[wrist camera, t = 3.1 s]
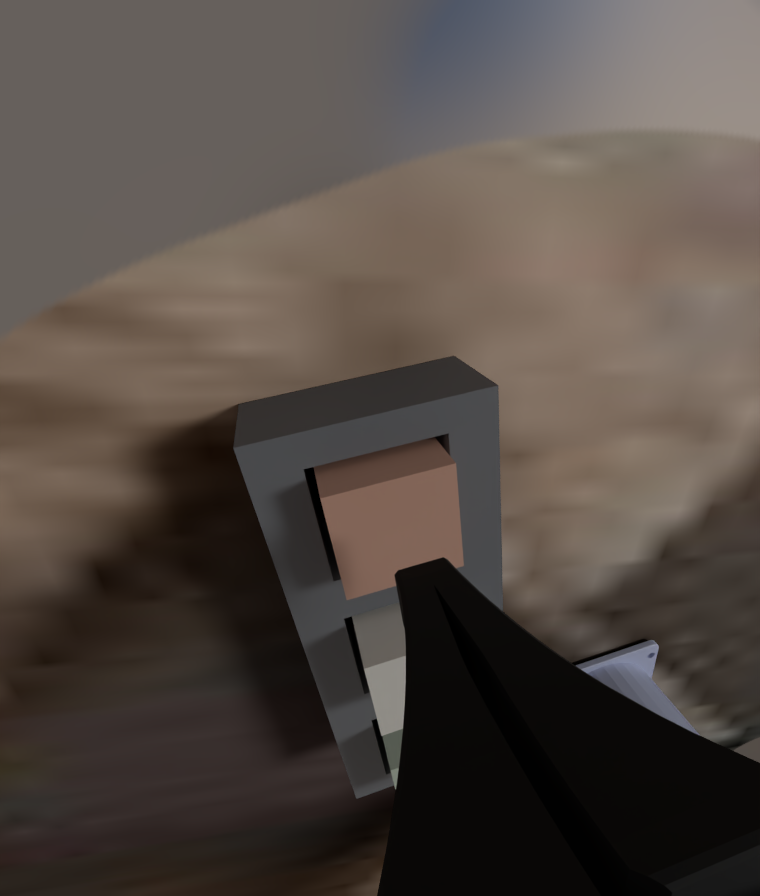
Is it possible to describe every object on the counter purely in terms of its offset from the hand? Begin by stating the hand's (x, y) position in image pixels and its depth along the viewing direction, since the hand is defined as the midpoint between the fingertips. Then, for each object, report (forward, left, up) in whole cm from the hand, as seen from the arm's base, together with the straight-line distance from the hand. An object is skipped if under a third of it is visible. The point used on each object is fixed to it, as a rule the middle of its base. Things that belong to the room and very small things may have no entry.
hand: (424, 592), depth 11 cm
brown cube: (0, 0, -6) cm, 6 cm away
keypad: (-6, 0, -7) cm, 10 cm away
